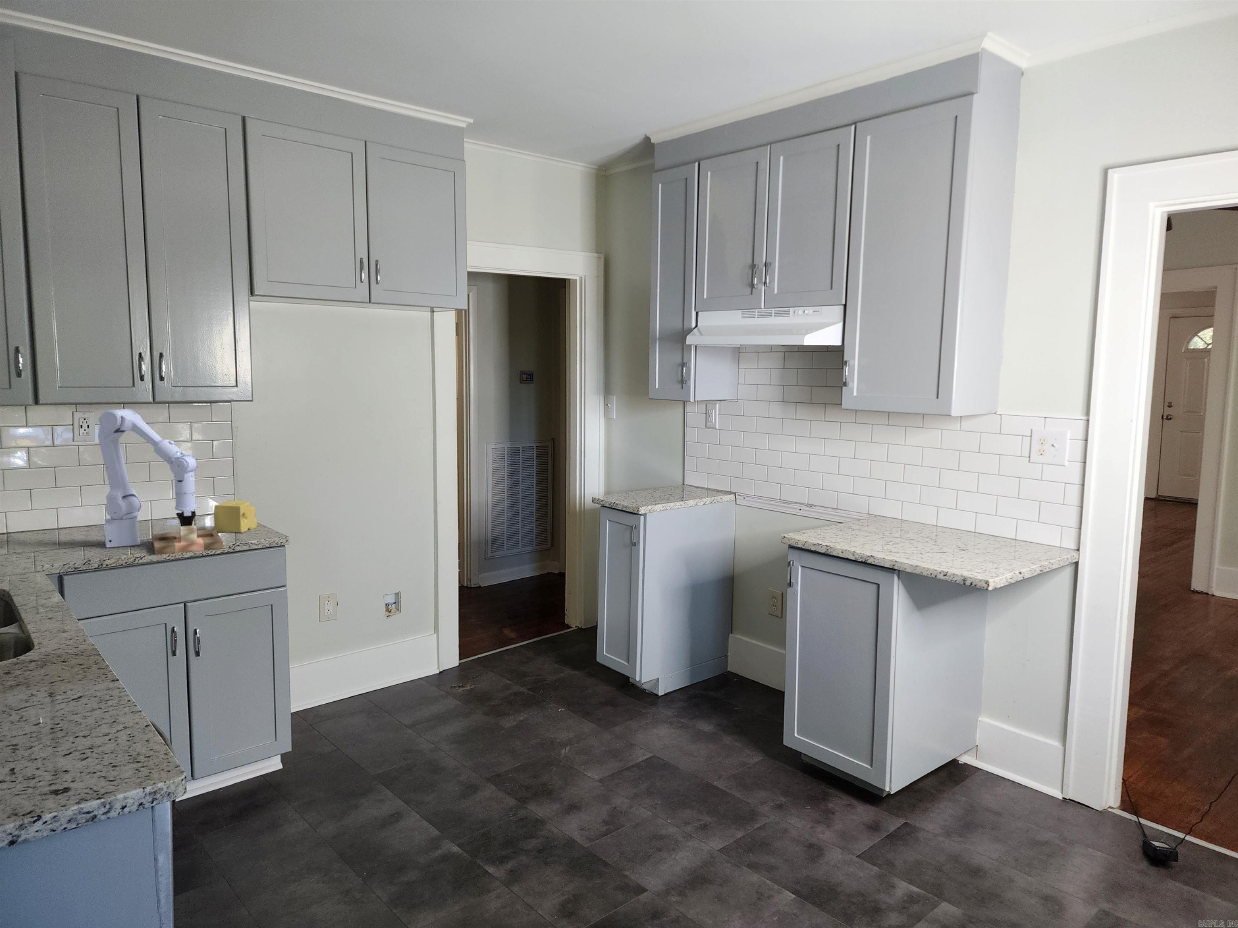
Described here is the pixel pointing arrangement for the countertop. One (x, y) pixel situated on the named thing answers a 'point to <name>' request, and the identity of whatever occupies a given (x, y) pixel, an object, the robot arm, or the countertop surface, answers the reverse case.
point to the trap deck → (172, 543)
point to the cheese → (234, 516)
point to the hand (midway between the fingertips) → (186, 534)
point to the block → (188, 534)
